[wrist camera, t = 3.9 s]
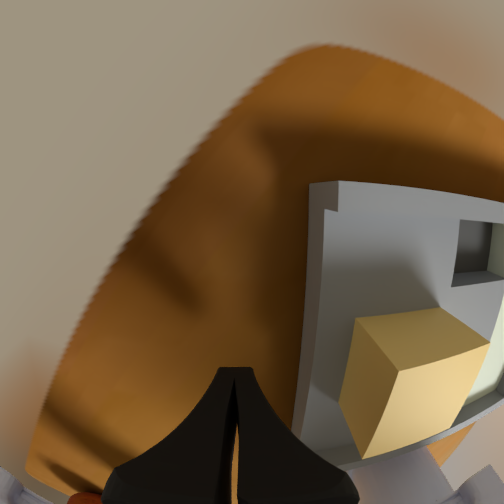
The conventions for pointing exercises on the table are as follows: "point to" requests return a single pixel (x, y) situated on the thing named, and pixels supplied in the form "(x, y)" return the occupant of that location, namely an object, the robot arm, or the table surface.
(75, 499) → the fruit
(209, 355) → the table surface
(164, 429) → the table surface
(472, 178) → the table surface
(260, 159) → the table surface
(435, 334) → the block
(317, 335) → the box
